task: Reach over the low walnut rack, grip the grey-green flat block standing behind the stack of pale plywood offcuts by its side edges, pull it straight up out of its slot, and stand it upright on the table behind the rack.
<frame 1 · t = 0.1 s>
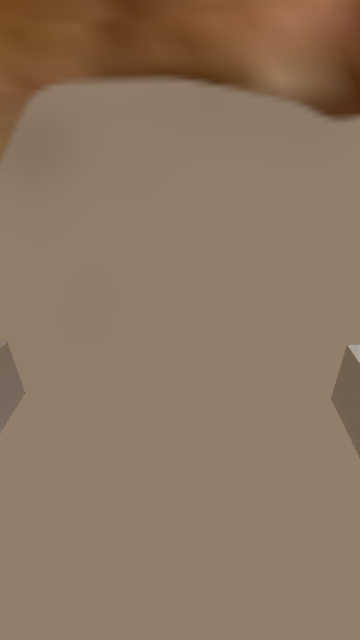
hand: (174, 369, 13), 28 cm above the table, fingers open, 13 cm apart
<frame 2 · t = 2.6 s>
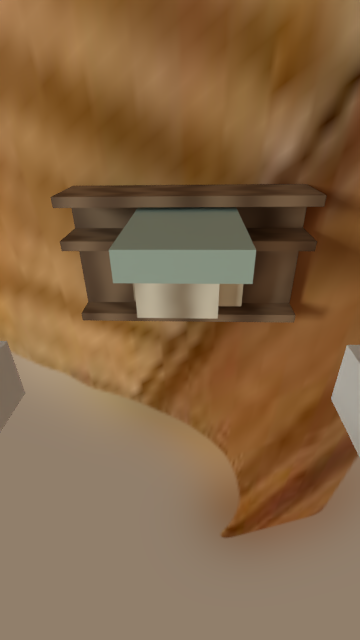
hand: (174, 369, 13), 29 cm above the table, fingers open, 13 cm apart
grey-green flat block: (187, 213, 36), point 1 cm above the table, touching rack
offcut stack: (187, 271, 40), point 1 cm above the table, touching rack
rack: (187, 250, 40), on the table
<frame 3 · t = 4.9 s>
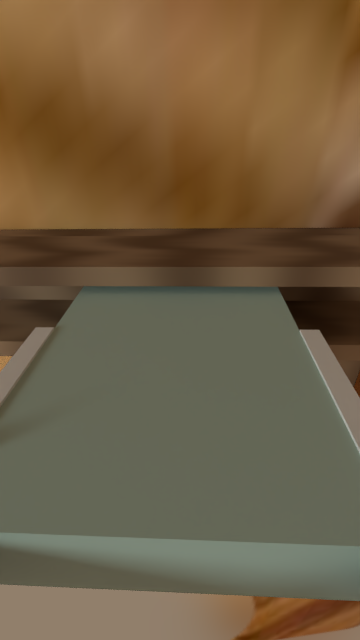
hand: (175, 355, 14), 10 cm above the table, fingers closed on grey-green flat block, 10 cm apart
grey-green flat block: (182, 277, 21), point 2 cm above the table, touching gripper, rack
rack: (184, 328, 25), on the table
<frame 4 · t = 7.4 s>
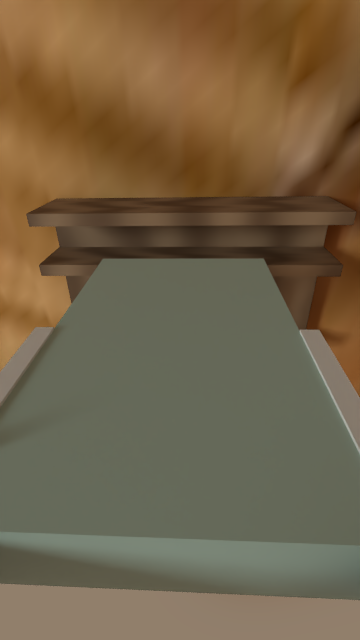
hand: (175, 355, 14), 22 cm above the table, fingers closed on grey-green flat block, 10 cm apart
grey-green flat block: (182, 277, 21), point 13 cm above the table, touching gripper
rack: (189, 270, 35), on the table
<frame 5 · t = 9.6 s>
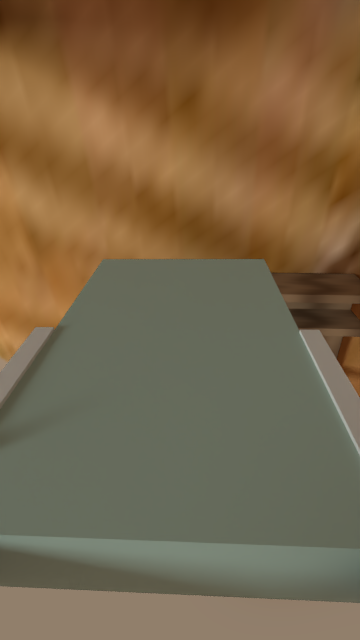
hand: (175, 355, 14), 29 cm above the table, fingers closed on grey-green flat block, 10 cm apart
grey-green flat block: (182, 277, 21), point 21 cm above the table, touching gripper
rack: (246, 322, 46), on the table
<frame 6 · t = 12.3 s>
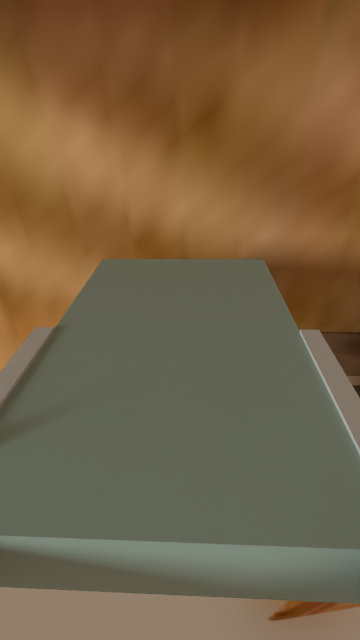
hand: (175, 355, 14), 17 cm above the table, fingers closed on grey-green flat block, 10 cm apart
grey-green flat block: (182, 277, 21), point 9 cm above the table, touching gripper
rack: (275, 388, 37), on the table
when the fingers open (10 cm above the table, at t = 14.7 s): grey-green flat block drops 2 cm, on the table.
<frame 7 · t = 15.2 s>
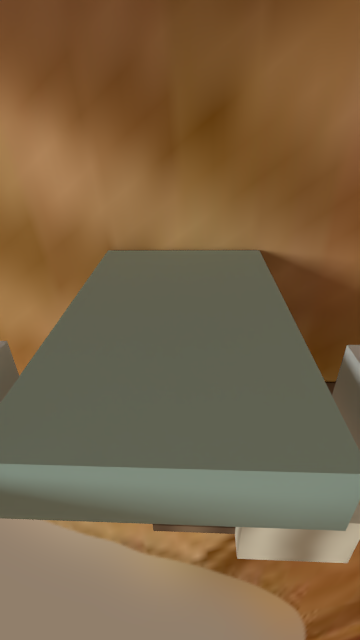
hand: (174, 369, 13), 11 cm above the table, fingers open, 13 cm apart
grey-green flat block: (183, 268, 22), on the table
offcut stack: (291, 472, 31), point 1 cm above the table, touching rack
rack: (291, 443, 31), on the table
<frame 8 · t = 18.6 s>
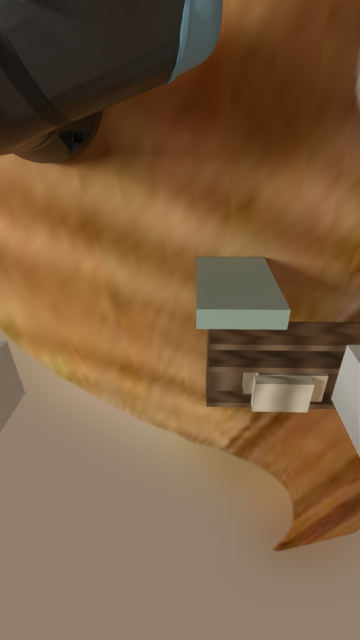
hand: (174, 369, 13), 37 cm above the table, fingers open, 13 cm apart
grey-green flat block: (229, 265, 49), on the table
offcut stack: (280, 373, 58), point 1 cm above the table, touching rack
rack: (280, 358, 58), on the table
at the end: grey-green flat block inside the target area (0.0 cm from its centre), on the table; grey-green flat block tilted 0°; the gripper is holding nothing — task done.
